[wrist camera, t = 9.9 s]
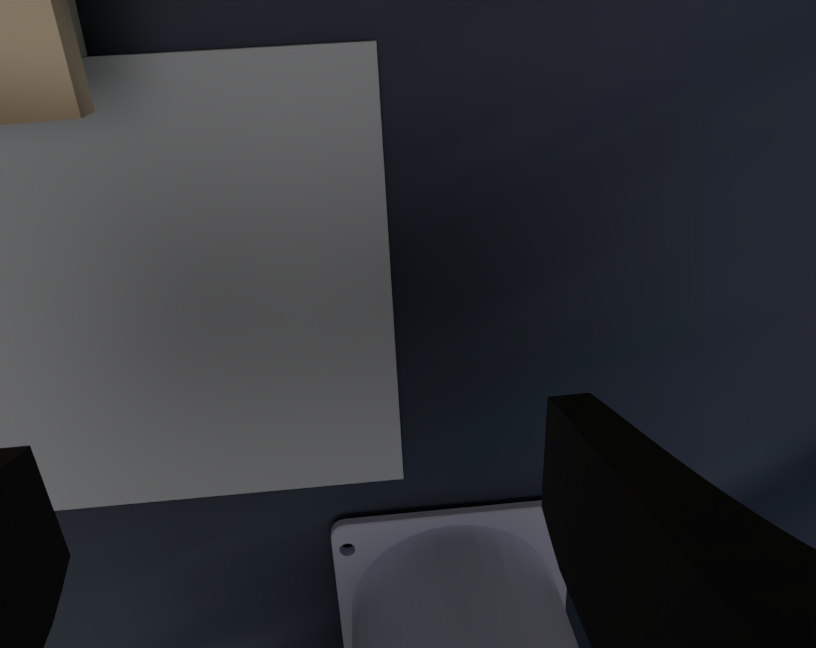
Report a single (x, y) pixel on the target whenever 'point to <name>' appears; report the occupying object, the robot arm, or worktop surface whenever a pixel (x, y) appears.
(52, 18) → the lid
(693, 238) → the worktop surface
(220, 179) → the mat
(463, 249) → the worktop surface
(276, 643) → the worktop surface
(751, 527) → the robot arm
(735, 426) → the worktop surface
